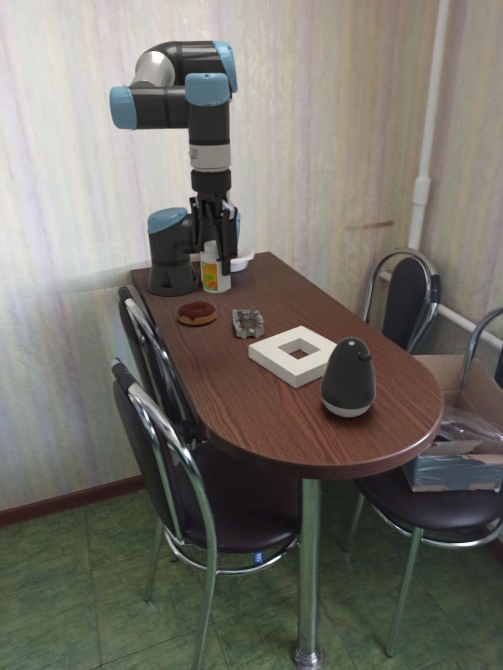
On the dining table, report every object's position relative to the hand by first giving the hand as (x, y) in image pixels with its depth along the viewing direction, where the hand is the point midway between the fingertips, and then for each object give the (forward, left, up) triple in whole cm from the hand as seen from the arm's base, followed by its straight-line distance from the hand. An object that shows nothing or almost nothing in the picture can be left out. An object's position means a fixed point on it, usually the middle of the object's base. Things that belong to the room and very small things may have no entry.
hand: (216, 284), depth 99 cm
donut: (-21, +7, -19) cm, 29 cm away
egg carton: (-8, +14, -19) cm, 25 cm away
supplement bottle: (0, 0, -1) cm, 1 cm away
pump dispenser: (+30, +9, -18) cm, 36 cm away
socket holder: (+11, +14, -18) cm, 25 cm away
